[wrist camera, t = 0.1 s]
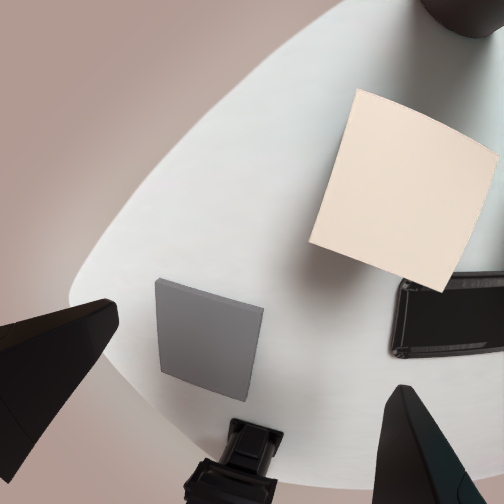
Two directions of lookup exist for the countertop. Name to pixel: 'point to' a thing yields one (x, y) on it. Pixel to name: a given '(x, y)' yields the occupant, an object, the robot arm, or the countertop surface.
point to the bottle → (468, 15)
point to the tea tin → (403, 192)
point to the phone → (450, 317)
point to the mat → (206, 338)
